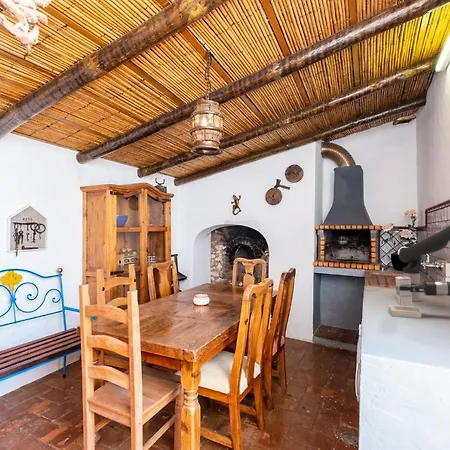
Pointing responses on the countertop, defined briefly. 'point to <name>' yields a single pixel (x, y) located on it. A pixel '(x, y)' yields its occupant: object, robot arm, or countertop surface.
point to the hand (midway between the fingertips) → (398, 287)
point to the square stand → (404, 311)
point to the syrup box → (403, 296)
